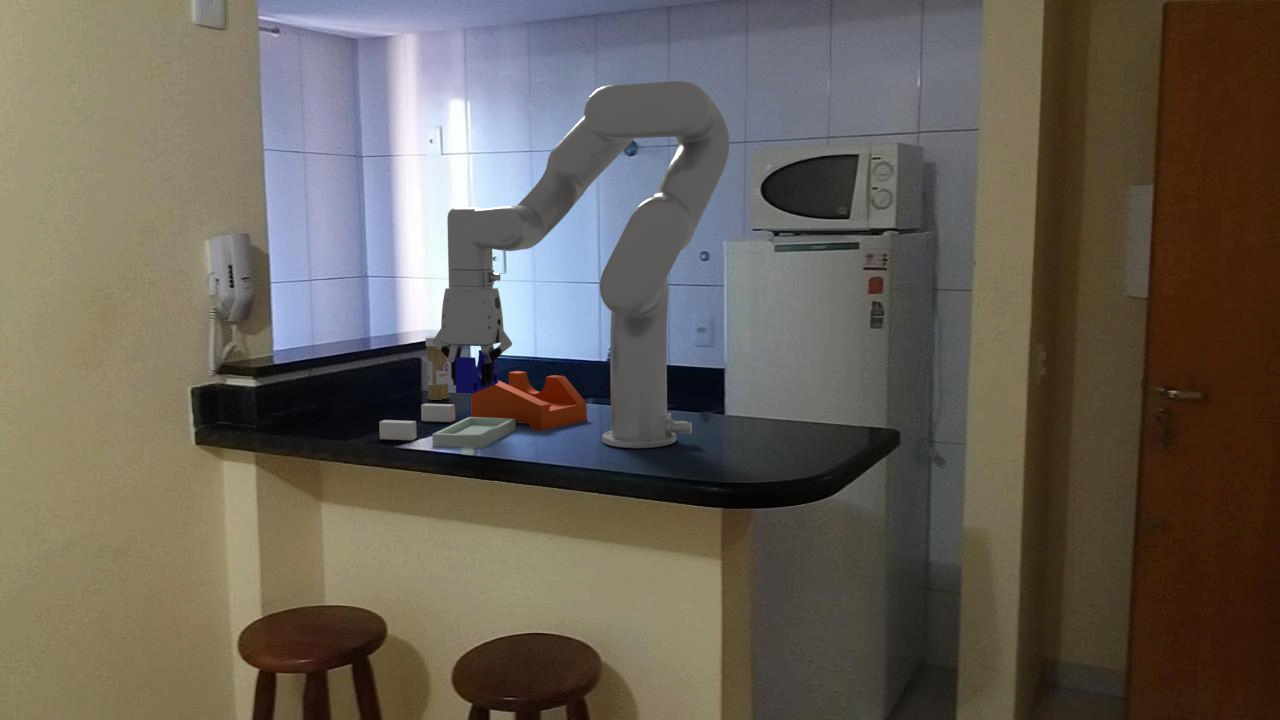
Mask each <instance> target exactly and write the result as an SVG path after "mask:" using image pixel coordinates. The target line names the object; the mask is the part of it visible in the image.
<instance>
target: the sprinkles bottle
mask: <svg viewBox="0 0 1280 720" xmlns="http://www.w3.org/2000/svg"><path fill="white" fill-rule="evenodd" d="M435 336H436V335H431V336H426V337H425V346H426V370H427V371H426V372H427V373H426V374H427V375H426V376H427V389H428V395H427V399H428V400H429V399H430V400H429V401H432V400H441V401H443V400H442V399H446V400H448V399H447V398H449V399H450V394H449V393H450V392H449V363H448V358H447V357H446V356H445V355H444V354H443V353H442V351H441V350H439V349H438V348H437V347H436V346H435V345H433V343H432V341H433V339H434V338H435ZM447 345H448V344H447Z"/></svg>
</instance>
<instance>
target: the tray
mask: <svg viewBox="0 0 1280 720" xmlns="http://www.w3.org/2000/svg"><path fill="white" fill-rule="evenodd" d="M514 431H516V422H515V419H512V418H485V417H471V416H467V417H466V418H463V419H462V420H460V421H457V422H455V423H453V424H451V425H449V426H447V427H445V428H442V429H440V430H438V431H436V432H434V433H432V434H431V436H432V437H431V438H432V439H431V440H432V447H450V448H451V447H453V448H474V449H475V448H477V449H478V448H479V449H484V448H485V447H487V446H489V445H491V444H492V443H494V442H495V441H497V440H500V439H501V438H503V437H505V436H507V435H509V434H510V433H512V432H514Z"/></svg>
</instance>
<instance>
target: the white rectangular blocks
mask: <svg viewBox="0 0 1280 720" xmlns="http://www.w3.org/2000/svg"><path fill="white" fill-rule="evenodd" d="M420 409H421V410H420V412H421V413H420V414H421V421H422V422H436V423H437V422H441V423H443V422H444V423H452V422H454V421H456V404H448V403H446V404H445V403H422V404H421V405H420ZM378 423H379V428H378V429H379V440H392V441H397V440H399V441H414V440H415V439H417V420H399V419H398V420H396V419H393V420H392V419H383V420H381V421H379V422H378Z"/></svg>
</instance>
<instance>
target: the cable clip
mask: <svg viewBox="0 0 1280 720" xmlns="http://www.w3.org/2000/svg"><path fill="white" fill-rule="evenodd" d="M477 358H478V359H477V360H476V357H472V356H471V357H469V356H461V357H457V358H455V367H456V385H455V394H466V395H468V394H469V395H471V394H474V393H476V392H478V391H481V390H483V389H486V388H488V387H490V386H493V385H495V384H497V383H498V380H499V361H498V360H499V357H498V358H497V359H496V361H494V380H493V381H492V384H491V385H489V386H486V387H483V386H482V378H481V365H482V364H483V363H484V358H483V354H482V350H481V349H479V350H478V357H477ZM476 361H477V362H476Z"/></svg>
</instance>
